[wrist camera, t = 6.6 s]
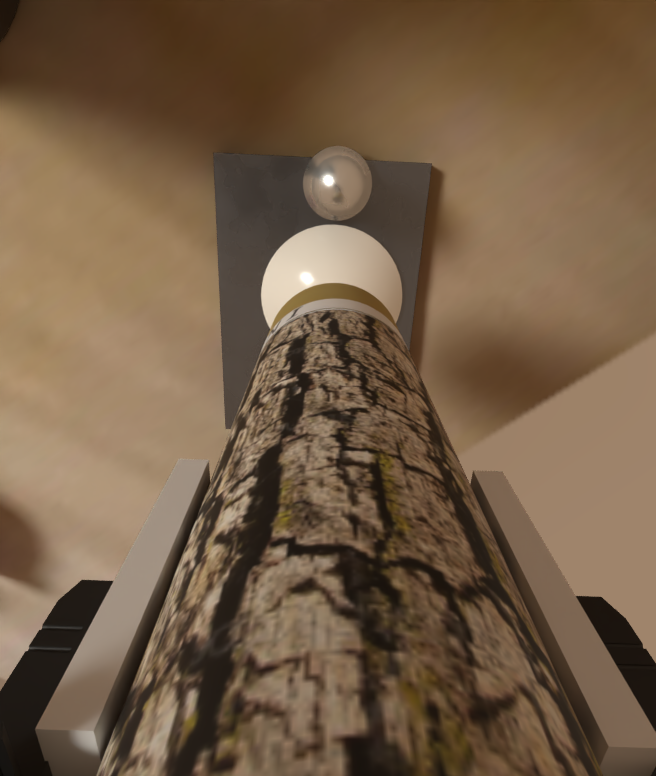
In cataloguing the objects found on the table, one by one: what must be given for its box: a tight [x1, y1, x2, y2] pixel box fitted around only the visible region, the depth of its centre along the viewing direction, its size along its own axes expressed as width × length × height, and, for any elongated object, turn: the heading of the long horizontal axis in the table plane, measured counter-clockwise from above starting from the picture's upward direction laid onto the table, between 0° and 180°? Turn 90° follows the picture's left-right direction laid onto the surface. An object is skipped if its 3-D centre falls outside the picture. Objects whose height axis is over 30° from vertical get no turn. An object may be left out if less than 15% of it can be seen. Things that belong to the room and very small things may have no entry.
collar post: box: [303, 146, 372, 221], centre depth 29 cm, size 4×4×6 cm
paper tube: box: [96, 283, 603, 776], centre depth 14 cm, size 7×7×25 cm
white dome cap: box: [261, 224, 402, 329], centre depth 34 cm, size 10×10×1 cm
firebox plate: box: [213, 152, 432, 429], centre depth 35 cm, size 20×14×1 cm
